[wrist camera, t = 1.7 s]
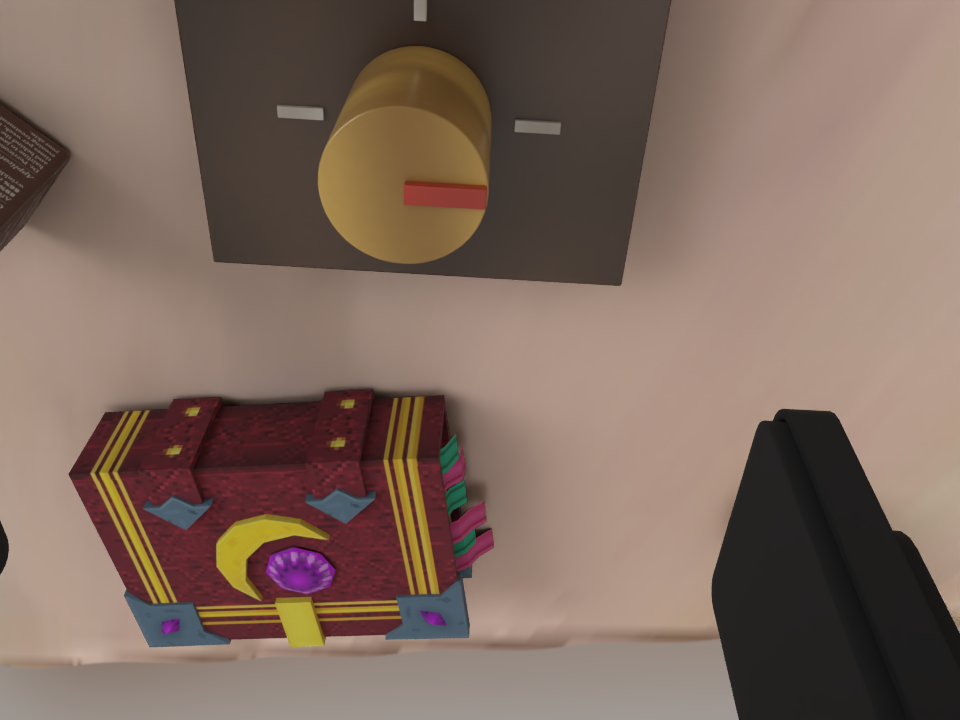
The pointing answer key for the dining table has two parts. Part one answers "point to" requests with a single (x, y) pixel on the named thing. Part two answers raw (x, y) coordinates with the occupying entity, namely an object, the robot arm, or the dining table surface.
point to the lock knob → (409, 157)
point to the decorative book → (285, 518)
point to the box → (24, 172)
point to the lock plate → (514, 132)
